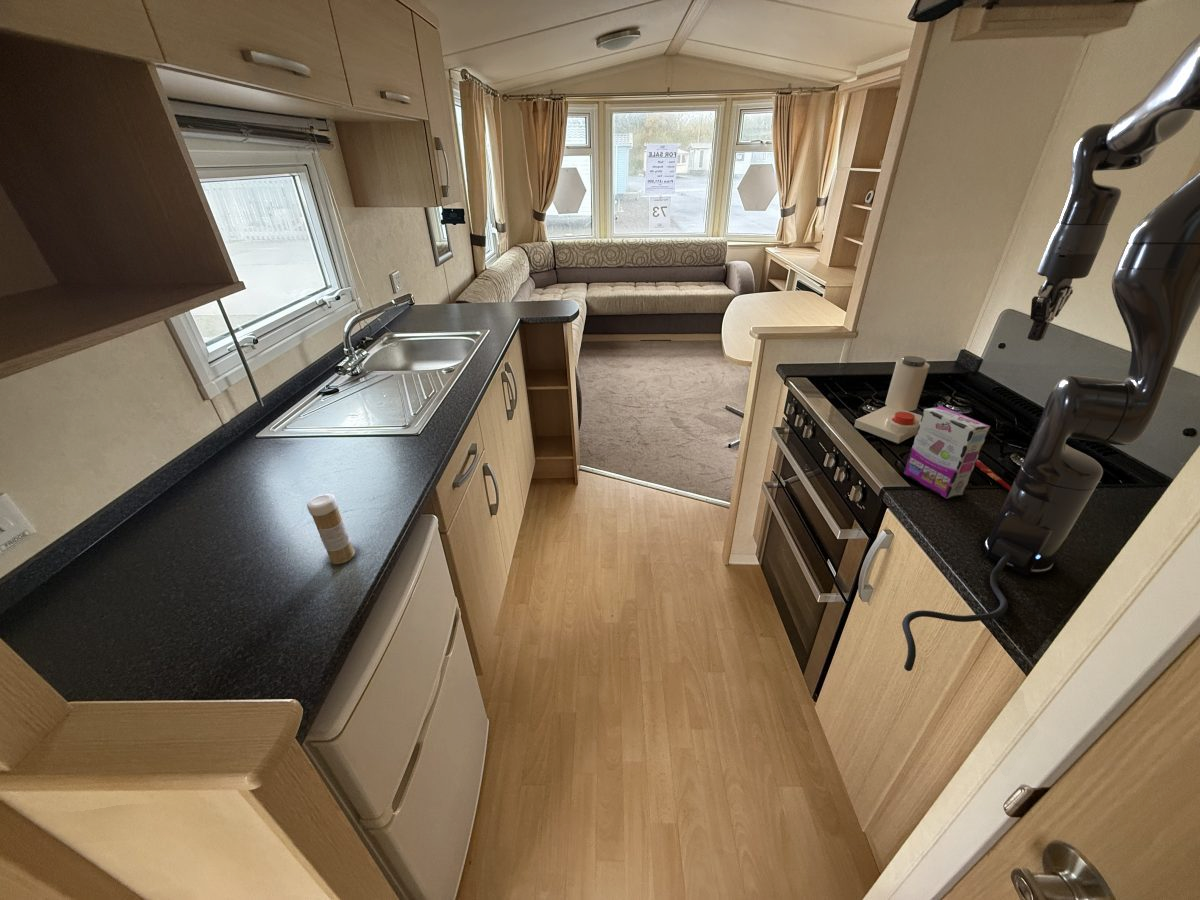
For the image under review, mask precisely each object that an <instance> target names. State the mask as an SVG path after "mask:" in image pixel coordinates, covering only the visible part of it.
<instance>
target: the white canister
mask: <svg viewBox="0 0 1200 900" xmlns="http://www.w3.org/2000/svg"><path fill="white" fill-rule="evenodd" d="M930 367H931V366H930V363H928V362H927V360H926V359H925V358H923V357H920V356H916V355H915V356H914V355H906V356H903V357H902V358H901V359H897V360H896V362H895V365H894V370H893V373H892V377H891V380H890V383H889V387H888V390H887V396H886V399H885V401H884V404H885V406H888V407H890V408H893V409H896V410H901V411H909V412H913V411H916V410H917V409H918V406H919V402H920V400H921V395H922V393H923V390H924V386H925V383H926V380H927V376H928V373H929V370H930Z"/></svg>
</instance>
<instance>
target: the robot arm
mask: <svg viewBox="0 0 1200 900" xmlns="http://www.w3.org/2000/svg"><path fill="white" fill-rule="evenodd" d="M1195 112H1200V33H1199V34H1198V35H1197V36H1196V37H1195V38H1194V39H1193V40H1192V41H1191V42H1190V43H1189V44H1188V45H1187V47H1186V48H1185V49H1184V50H1183V51H1182V53H1180V54H1179V56H1178V57H1177V58H1176V59H1175V61H1174V62H1173V63H1172V64H1171V65H1170V66H1169V68H1167V70H1166V71H1165V72H1164V73H1163V75H1162V76H1161V78H1159V80H1158V81H1157V82H1156V83H1155V85H1154V86H1153V87H1152V88H1151V90H1150V91H1149V92H1148V93H1147V95H1146V96H1145V97H1144V98H1142V99H1141V100H1140V101H1138V103H1136V104H1135V105H1133V107H1131V108H1130V109H1128V110H1127V111H1126V112H1125V113H1123V114H1122V115H1121V116H1120V117H1119V118H1117V120H1115V121H1114V122H1113V123H1112V122H1111V123H1099V124H1096V125H1092V126H1090V127H1089V128H1088V129H1086V130H1085V131H1084V132H1083V133H1082V134H1081V135H1080V136H1079V138H1078V139H1077V140H1076V142H1075V143H1074V146H1073V148H1072V153H1071V162H1070V163H1071V164H1070V165H1071V167H1070V169H1071V170H1070V180H1069V188H1068V194H1067V197H1066V200H1065V204H1064V206H1063V209H1062V211H1061V214H1060V215H1059V219H1058V223H1056V226H1055V228H1054V229H1053V231H1052V234H1051V235H1050V237H1049V240H1048V243H1047V245H1046V247H1045V250H1044V252H1043V256H1042V258H1041V261H1040V262H1039V263H1040V264H1039V266H1038V268H1037V271H1036V273H1037V275H1039V276H1041V277H1045V278H1046V280H1044V281H1045V282H1044V283H1043V285H1040V287H1039V289H1038V291H1037V295H1038V296H1036V295H1034V296H1033V297H1032V299H1031V304H1030V305H1031V306H1030V316H1029V317H1030V318H1029V320H1032V321H1033V322H1032V325H1031V327H1030V330H1029V333H1028V335H1027V339H1028V340H1029V341H1035V342H1040V341H1042V340H1044V338H1045V335H1046V333H1047V331H1048V329H1049V326H1050V324H1051V323H1052V322H1053V321H1054V319H1055V318H1057V317H1058V316H1059V315H1060V313H1061V311H1062V309H1063V308H1064V306H1065V305H1066V303H1067V302H1068V301H1069V299H1070V297H1071V295H1072V294H1073V293H1074V292H1073V291H1074V289H1073V286H1072V284H1073V280H1077V279H1079V280H1080V279H1084V278H1086V277H1088V276H1089V274H1090V273H1091V270H1092V267H1093V265H1094V263H1095V261H1096V258H1097V256H1098V254H1099V252H1100V249H1101V247H1102V245H1103V242H1104V241H1105V237H1106V234H1107V230H1108V227H1109V224H1110V222H1111V220H1112V218H1113V215H1114V213H1115V211H1116V208H1117V206H1118V205H1119V202H1120V199H1121V196H1122V190H1121V188H1120V187H1117V186H1112V185H1106V184H1102V183H1101V184H1100V183H1097V182H1096V181H1095V180H1094V172H1099V171H1100V172H1101V171H1125V170H1131V169H1135V168H1138V167H1141V166H1142V165H1145V163H1147V162H1148V161H1149V160H1150V159H1151V157H1152V156H1153V155H1154V153H1155V151H1157V148H1158V146H1159V145H1161V144H1163V143H1164V142H1166V141H1169V140H1170V139H1171V138H1173V137H1174V136H1176V135H1177V134H1179V132H1181V131H1182V130H1183V129H1184V128H1185V127H1186V125H1188V124H1189V122H1190V121H1191V119H1192V117H1193V116H1194V114H1195ZM1111 291H1112V295H1113V298H1114V302H1115V304H1116V307H1117V309H1118V312H1119V314H1120V316H1121V319H1122V321H1123V323H1124V326H1125V328H1126V331H1127V334H1128V337H1129V343H1130V349H1131V352H1130V353H1131V356H1130V363H1129V368H1128V372H1127V374H1126V377H1125V379H1124V380H1120V379H1111V378H1101V377H1094V376H1093V377H1092V376H1085V375H1084V376H1083V375H1066V376H1064V377H1063V378H1061V379H1060V380H1059V381H1058V382H1057V383H1056V384H1055V386H1054V387H1053V388H1052V390H1051V392H1050V394H1049V395H1048V397H1047V400H1046V403H1045V405H1044V408H1043V411H1042V414H1041V416H1040V419H1039V422H1038V424H1037V427H1036V429H1035V431H1034V434H1033V437H1032V439H1031V441H1030V443H1029V446H1028V448H1027V452H1026V454H1025V457H1024V459H1023V461H1022V463H1021V465H1020V468H1019V470H1018V472H1017V474H1016V476H1015V479H1014V480H1013V482H1012V485H1011V486H1010V487H1011V489H1010V491H1009V490H1008V493H1007V495H1006V498H1005V500H1004V502H1003V504H1002V506H1001V508H1000V510H999V513H998V515H997V517H996V520H995V522H994V524H993V526H992V529H991V531H990V533H989V534H988V537H987V538H986V540H985V541H984V545H983V546H984V550H985V552H986V553H985V555H984V556H985V557H986V558H988V559H991V560H992V561H994V562H996V563H997V564H996V565H995V567H994V568H993V570H992V571H991V573H990V577H989V583H990V587H991V590H992V591H993V593H994V595H995V597H997V599H998V601H999V606H998V607H997V609H995V610H992V611H991V612H986V613H979V614H968V615H960V614H959V615H958V614H950V613H945V612H940V611H933V610H924V609H923V610H922V609H921V610H915V611H911V612H909V613H907V614H906V615H905V616H904V617H903V619H902V622H901V625H902V630H903V631H902V632H903V633H904V637H905V640H906V644H907V655H906V660H905V662H904V666H903V668H904V670H905V671H907V672H911V671H913V668H914V666H915V661H916V657H917V648H916V642H915V639H914V636H913V633H912V630H911V622H912V621H913V620H915V619H917V618H923V617H925V618H933V619H937V620H938V619H939V620H944V621H949V622H957V623H971V622H981V621H989V620H994V619H997V618H1000V617H1001V616H1003V615H1004V614H1005V613H1006V612H1007V610H1008V608H1009V603H1008V600H1007V598H1006V596H1005V595H1004V594H1003V592H1002V591H1001V589H1000V587H999V584H998V579H999V575H1000V574H1001V572H1002V571H1003V569H1005V567H1007V568H1009V569H1011V570H1013V571H1015V572H1017V573H1019V574H1021V575H1023V576H1026V577H1028V576H1029V575H1031V574H1032V575H1043V574H1046V573H1048V572H1049V571H1051V569H1052V567H1053V566H1054V562H1055V561H1056V559H1057V558H1058V555H1059V554H1060V551H1061V550H1062V548H1063V546H1064V544H1065V543H1066V541H1067V539H1068V537H1069V536H1070V534H1071V532H1072V530H1073V529H1074V526H1075V524H1076V523H1077V521H1078V519H1079V517H1080V516H1081V514H1082V513H1083V510H1084V509H1085V507H1086V505H1087V504H1088V502H1089V500H1090V498H1091V497H1092V495H1093V493H1094V491H1095V490H1096V487H1098V484H1099V483H1100V481H1101V479H1102V477H1103V475H1104V468H1103V467H1102V465H1101V464H1100V463H1099V461H1097V460H1096V459H1095V458H1093V457H1092V456H1090V455H1088V454H1086V453H1084V452H1082V451H1080V450H1078V449H1076V448H1073V447H1072V446H1070V445H1069V444H1067V440H1068V439H1074V440H1081V441H1087V442H1094V443H1101V444H1108V445H1115V446H1129V445H1132V444H1134V443H1135V442H1137V441H1138V440H1139V439H1141V437H1143V435H1144V434H1145V433H1146V431H1147V430H1148V428H1149V427H1150V425H1151V423H1152V421H1153V420H1154V417H1155V415H1156V412H1157V410H1158V408H1159V406H1160V403H1161V400H1162V398H1163V395H1164V392H1165V389H1166V387H1167V383H1168V382H1169V379H1170V376H1171V373H1172V371H1173V368H1174V365H1175V363H1176V361H1177V358H1178V355H1179V353H1180V350H1181V347H1182V345H1183V343H1184V340H1185V338H1186V336H1187V334H1188V332H1189V329H1190V327H1191V325H1192V324H1193V321H1194V319H1195V318H1196V315H1197V313H1198V312H1199V310H1200V171H1198V172H1197V173H1195V175H1193V177H1191V178H1190V179H1189V180H1188V181H1186V182H1185V183H1184V184H1182V185H1181V186H1180V187H1179V188H1178V189H1177V190H1175V191H1174V192H1173V193H1172V194H1170V195H1169V196H1168V197H1166V199H1164V200H1163V201H1162V202H1160V203H1159V204H1158V205H1157V206H1156V207H1155V208H1154V209H1152V211H1149V212H1148V214H1147V215H1145V216H1144V218H1142V219H1141V221H1139V222H1138V224H1137V225H1136V226H1135V227H1134V229H1132V231H1131V233H1130V234H1129V237H1128V239H1127V240H1126V243H1125V245H1124V248H1123V250H1122V253H1121V255H1120V258H1119V260H1118V263H1117V265H1116V267H1115V270H1114V273H1113V275H1112V278H1111Z"/></svg>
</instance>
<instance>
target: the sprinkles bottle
mask: <svg viewBox="0 0 1200 900" xmlns="http://www.w3.org/2000/svg"><path fill="white" fill-rule="evenodd" d="M338 506H339V505H338V502H337V500H336V497H335V495H333V494H331V493H323V494H318V495H315V496H314V497H312V498H311V499H309V501H308V502H307V503H306V508H307V511H308V513H309V514H310V515H311V517H312V519H313V521H314V524H315V526H316V530H317V531H318V534H319V538H320V540H321V542H322V545H323V547H324V549H325V550H326V553H327V555H328V557H329V558H328V559H329V561H330V563H331V564H333V565H339V564H340V565H341V564H345V563H347V562H348V561H350V560H351V559H353V558H354V556H355V554H356V550H355V548H354V546H353V545H352V544H353V543H352V542H351V541H352V540H351V538H350V535H349V532H348V530H347V527H346V524H345V522H344V519H343V517H342V515H341V512H340V510H339V508H338Z"/></svg>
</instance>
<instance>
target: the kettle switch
mask: <svg viewBox="0 0 1200 900" xmlns="http://www.w3.org/2000/svg"><path fill="white" fill-rule="evenodd" d="M914 418H915V416H914V415H913V414H911V413H908V412H896V413H895V416H894V419H893V421H894V422H895V423H898V424H900V425H912V424H913V421H914Z"/></svg>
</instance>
